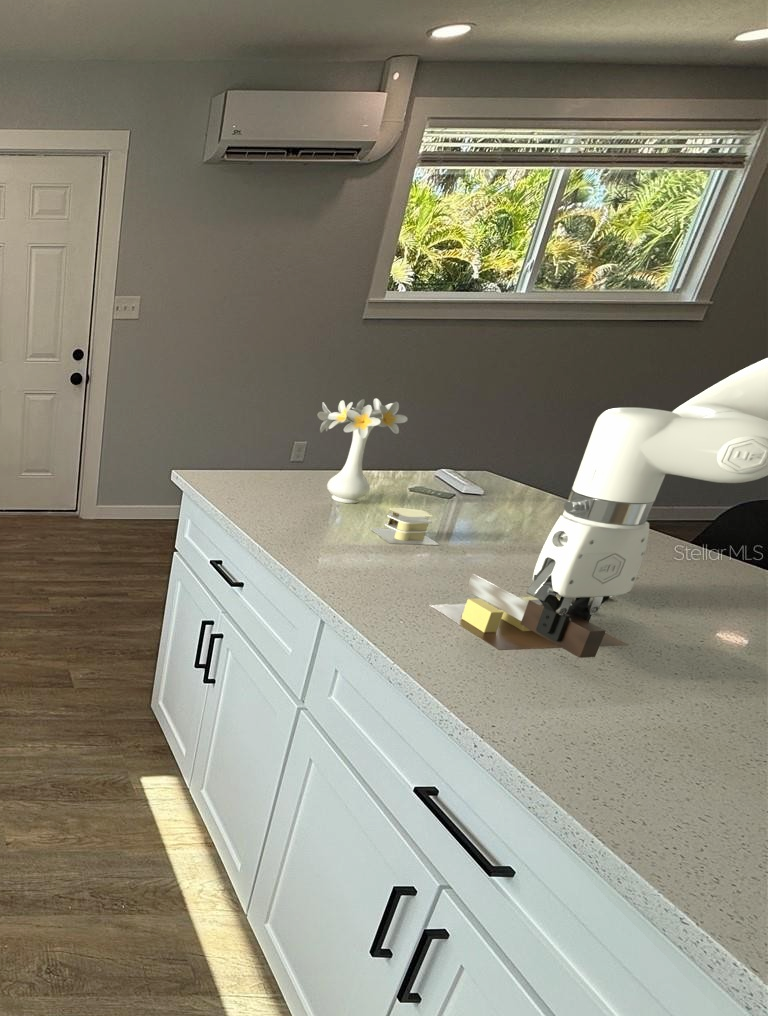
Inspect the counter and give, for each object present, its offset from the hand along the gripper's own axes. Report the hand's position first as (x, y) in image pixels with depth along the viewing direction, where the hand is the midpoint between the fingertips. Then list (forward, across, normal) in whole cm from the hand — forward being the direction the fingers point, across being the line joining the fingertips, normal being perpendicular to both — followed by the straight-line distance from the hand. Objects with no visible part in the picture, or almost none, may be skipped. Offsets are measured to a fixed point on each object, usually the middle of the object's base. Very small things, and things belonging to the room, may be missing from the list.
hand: (558, 634), depth 87 cm
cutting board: (+6, +6, +10) cm, 13 cm away
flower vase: (+5, +18, +75) cm, 78 cm away
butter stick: (+4, +8, +10) cm, 14 cm away
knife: (+1, 0, +6) cm, 6 cm away
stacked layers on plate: (+6, +16, +50) cm, 53 cm away
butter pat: (+4, -2, +10) cm, 11 cm away
